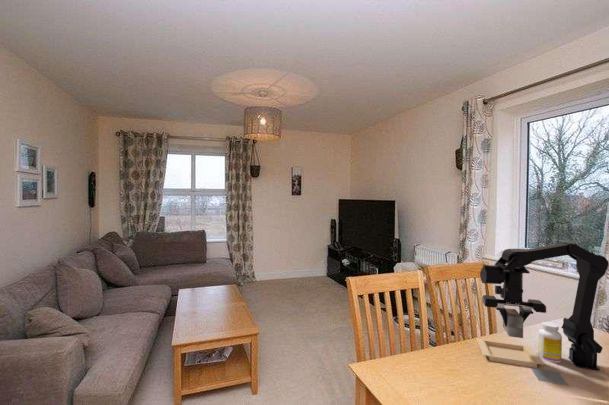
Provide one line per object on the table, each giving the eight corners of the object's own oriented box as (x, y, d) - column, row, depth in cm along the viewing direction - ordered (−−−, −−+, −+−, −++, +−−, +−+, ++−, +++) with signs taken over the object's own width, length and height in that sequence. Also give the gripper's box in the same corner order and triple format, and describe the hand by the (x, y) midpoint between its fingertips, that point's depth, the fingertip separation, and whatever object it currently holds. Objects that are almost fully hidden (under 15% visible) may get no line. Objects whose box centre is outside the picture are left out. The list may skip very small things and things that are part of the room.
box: (515, 327, 117) (515, 309, 117) (523, 338, 109) (523, 318, 109) (502, 326, 119) (502, 307, 118) (509, 336, 110) (509, 316, 110)
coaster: (558, 373, 104) (558, 371, 104) (569, 387, 97) (569, 385, 97) (530, 369, 107) (530, 367, 107) (538, 382, 100) (539, 380, 100)
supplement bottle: (566, 364, 110) (567, 328, 110) (547, 364, 110) (548, 328, 110) (551, 354, 117) (552, 320, 116) (533, 354, 117) (534, 320, 117)
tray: (530, 352, 119) (530, 346, 119) (543, 370, 106) (544, 363, 106) (476, 344, 125) (476, 338, 125) (483, 361, 112) (483, 354, 112)
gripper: (535, 280, 118) (535, 321, 118) (479, 276, 124) (479, 315, 124) (547, 289, 107) (546, 334, 108) (485, 284, 114) (485, 326, 114)
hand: (512, 326), depth 114 cm, fingers closed on box, 4 cm apart
